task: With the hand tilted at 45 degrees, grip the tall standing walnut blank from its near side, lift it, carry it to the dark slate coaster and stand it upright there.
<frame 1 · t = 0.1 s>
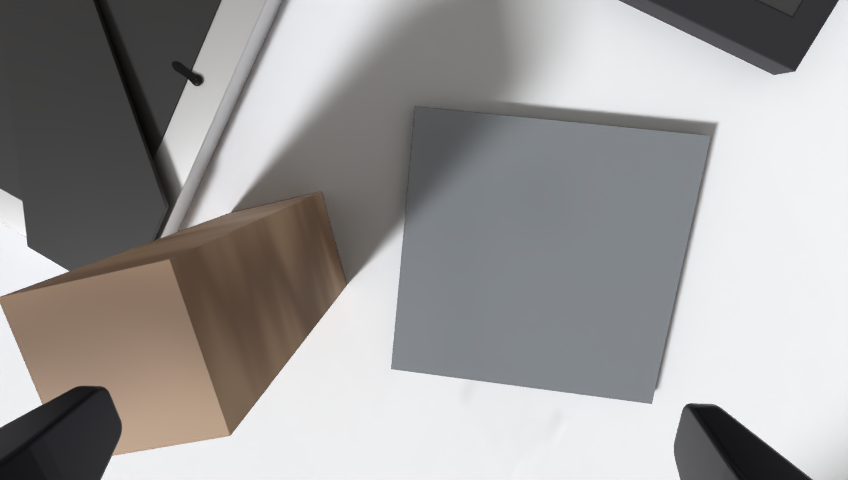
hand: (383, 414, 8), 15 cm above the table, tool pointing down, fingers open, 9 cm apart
walnut blank: (288, 249, 24), on the table
coaster: (536, 258, 23), on the table
picture frame 2: (95, 9, 23), on the table
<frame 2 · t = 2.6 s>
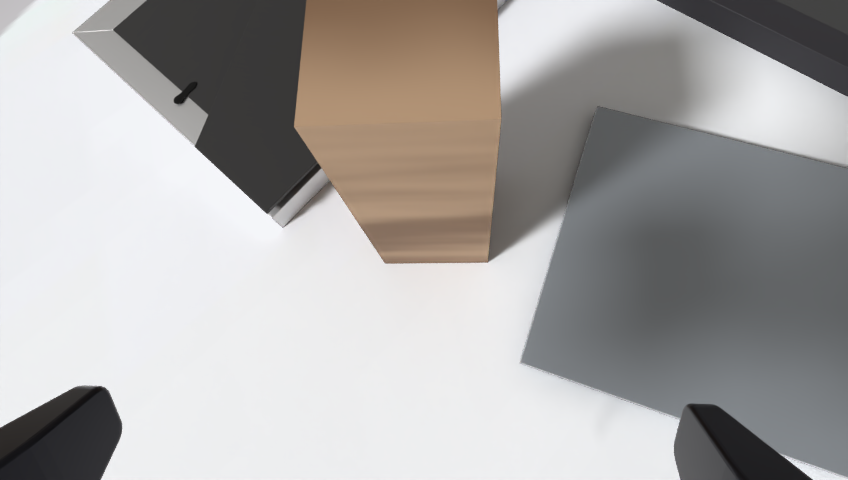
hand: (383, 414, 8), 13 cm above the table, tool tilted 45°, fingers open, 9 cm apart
walnut blank: (436, 214, 23), on the table
coaster: (702, 272, 21), on the table
picture frame 2: (328, 9, 28), on the table
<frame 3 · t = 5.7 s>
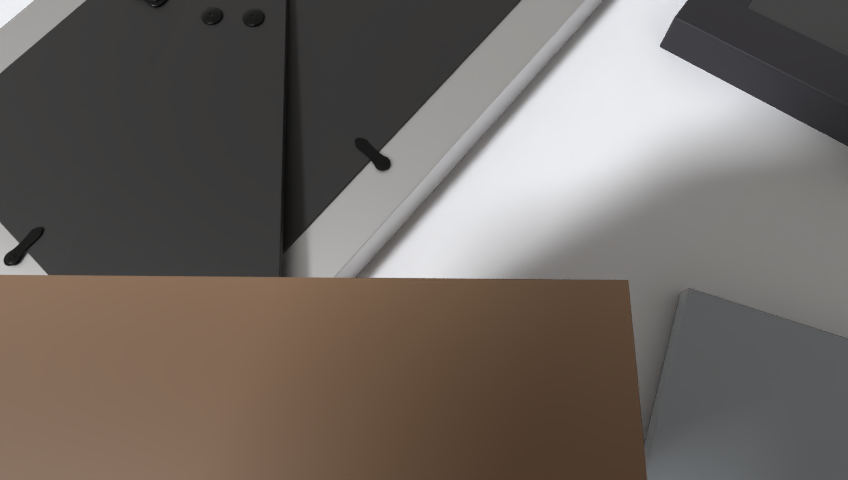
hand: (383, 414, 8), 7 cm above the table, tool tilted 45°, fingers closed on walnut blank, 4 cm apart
walnut blank: (419, 466, 14), on the table, touching gripper
picture frame 2: (263, 92, 19), on the table
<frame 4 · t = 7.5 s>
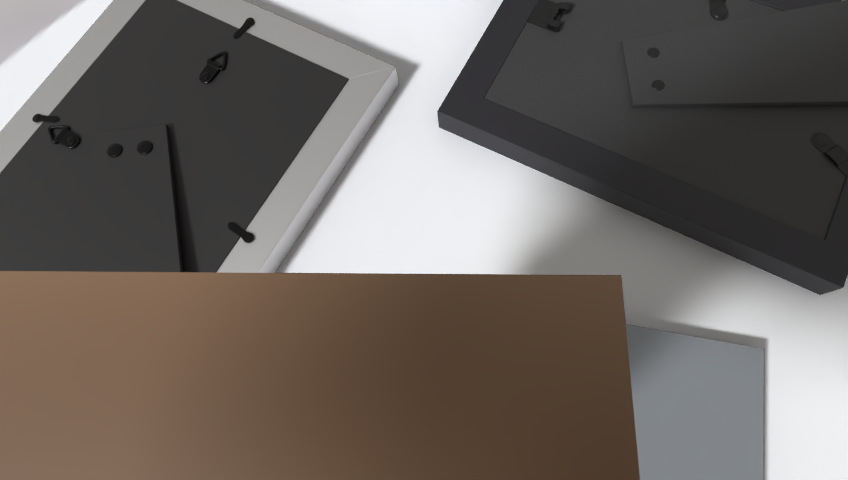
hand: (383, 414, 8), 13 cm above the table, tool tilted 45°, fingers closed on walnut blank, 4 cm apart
walnut blank: (418, 465, 14), point 7 cm above the table, touching gripper
coaster: (585, 477, 20), on the table
picture frame: (662, 97, 25), on the table
picture frame 2: (165, 192, 26), on the table
when the fingers open (8 cm above the table, at t = 9.3 s): walnut blank stays where it is, resting on coaster.
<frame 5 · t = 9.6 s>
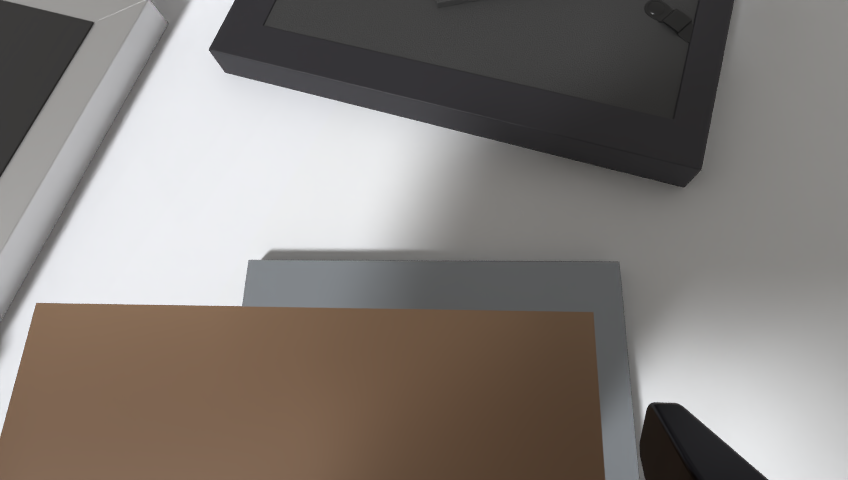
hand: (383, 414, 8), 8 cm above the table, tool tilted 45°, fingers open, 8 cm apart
walnut blank: (422, 462, 15), point 1 cm above the table, touching coaster
coaster: (424, 460, 15), on the table
picture frame: (485, 0, 21), on the table
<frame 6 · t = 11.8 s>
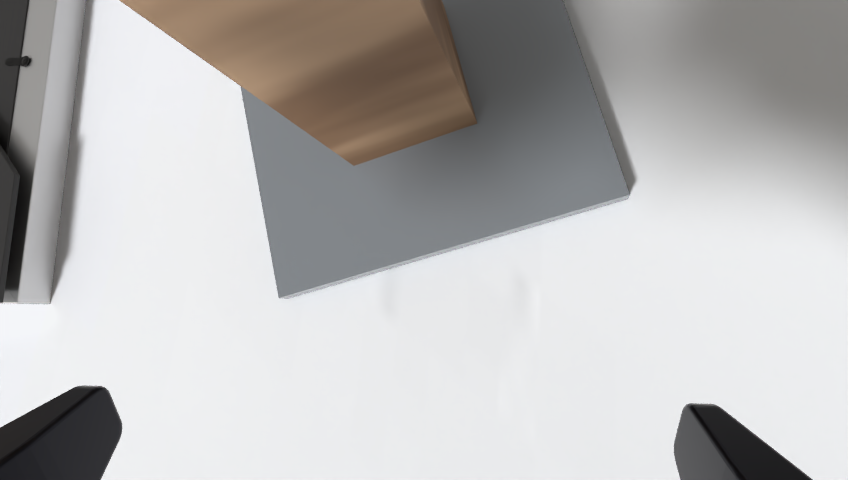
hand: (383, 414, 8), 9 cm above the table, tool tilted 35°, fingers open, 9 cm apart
walnut blank: (399, 86, 18), point 1 cm above the table, touching coaster
coaster: (403, 93, 18), on the table
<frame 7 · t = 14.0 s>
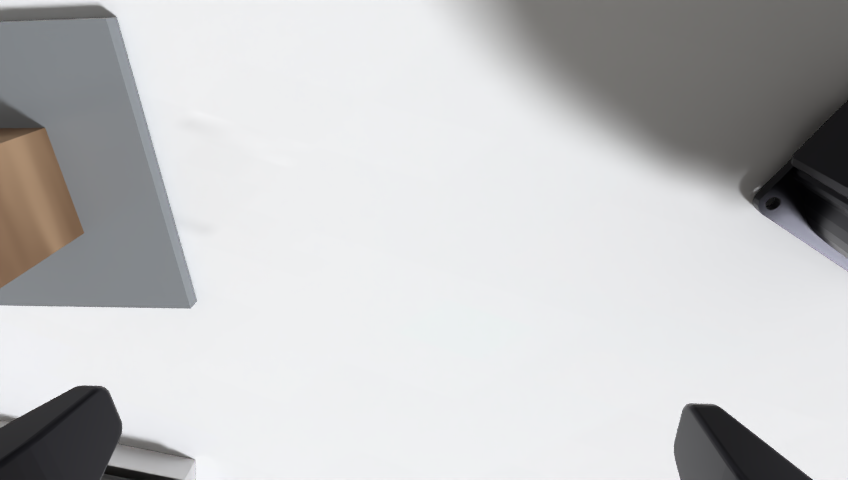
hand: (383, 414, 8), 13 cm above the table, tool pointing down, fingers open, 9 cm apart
walnut blank: (14, 183, 21), point 1 cm above the table, touching coaster
coaster: (25, 178, 21), on the table
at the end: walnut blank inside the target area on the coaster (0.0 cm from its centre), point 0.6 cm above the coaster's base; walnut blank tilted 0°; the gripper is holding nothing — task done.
